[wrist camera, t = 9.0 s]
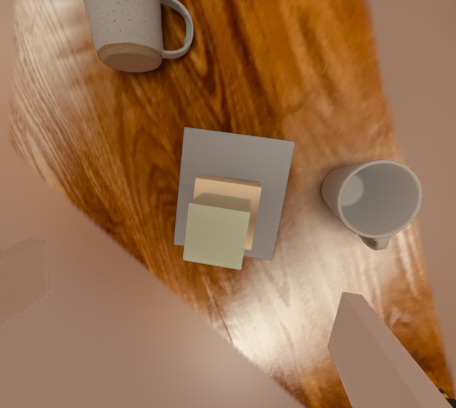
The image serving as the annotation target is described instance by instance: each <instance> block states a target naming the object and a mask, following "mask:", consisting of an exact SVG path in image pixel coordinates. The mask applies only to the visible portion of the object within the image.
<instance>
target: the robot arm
mask: <svg viewBox="0 0 456 408" xmlns="http://www.w3.org/2000/svg"><path fill="white" fill-rule="evenodd" d="M47 295H49V278H48V255H47V241H46V240H40V239H35V238H29V239H27V240H24V241H21V242H19V243H16V244H13V245H11V246H8V247H5V248H3V249H0V328H1V327H2V326H4V325H5V324H7V323H8V322H9V321H11V320H12V319H14V318H15V317H17V316H18V315H20V314H21V313H23V312H24V311H25V310H27V309H28V308H30V307H31V306H33V305H34V304H36V303H37V302H39V301H40V300H41V299H43V298H44V297H46V296H47ZM328 349H329V352H330V354H331V357H332V359H333V362H334V364H335V366H336V369H337V371H338V374H339V376H340V379H341V381H342V384H343V386H344V389H345V391H346V393H347V396H348V398H349V401H350V403H351V406H352V408H456V400H455V399H450V398H445V397H444V396H443V395H442V394H441V393H440V391H439V390H438V389H437V388H436V386H435V385H434V384H433V383H432V381H431V380H430V379H429V378H428V376H427V375H426V374H425V373H424V372H423V370H422V369H421V368H420V367H419V365H418V364H417V363H416V362H415V360H414V359H413V358H412V357H411V355H410V354H409V353H408V352H407V350H406V349H405V348H404V347H403V346H402V344H401V343H400V342H399V341H398V339H397V338H396V337H395V336H394V334H393V333H392V332H391V331H390V329H389V328H388V327H387V326H386V325H385V323H384V322H383V321H382V320H381V318H380V317H379V316H378V315H377V313H376V312H375V311H374V310H373V308H372V307H371V306H370V305H369V303H368V302H367V301H366V300H365V299H364V297H363V296H362V295H359V294H353V293H347V292H343V293H342V296H341V300H340V304H339V307H338V311H337V315H336V318H335V322H334V325H333V329H332V333H331V336H330V340H329V343H328Z"/></svg>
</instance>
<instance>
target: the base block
mask: <svg viewBox="0 0 456 408" xmlns="http://www.w3.org/2000/svg"><path fill="white" fill-rule="evenodd" d="M261 189H262V187H261V184H260V182H257V181H251V180H244V179H237V178H230V177H223V176H216V175H210V174H205V175H202V176H199V177H197V178H196V180H195V189H194V198H193V200H194V199H195V198H196V197H198V196H199V195H201V194H202V193H203V192H205V193H212V194H218V195H225V196H232V197H238V198H245V199H250V218H249V224H248V230H247V237H246V243H245V249H247V250H251V248H252V242H253V236H254V230H255V225H256V219H257V213H258V207H259V201H260V195H261Z"/></svg>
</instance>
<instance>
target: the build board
mask: <svg viewBox="0 0 456 408" xmlns="http://www.w3.org/2000/svg"><path fill="white" fill-rule="evenodd" d="M294 144H295V142H293V141H285V140H278V139H270V138H263V137H255V136H248V135H240V134H233V133H225V132H218V131H210V130H203V129H195V128H188V127H184V138H183V148H182V159H181V170H180V181H179V192H178V203H177V214H176V225H175V236H174V244H176V245H182V246H184V245H185V235H186V225H187V216H188V206H189V203H190V202H191V201H192V200H193V198H194V189H195V180H196V178H197V177H199V176H202V175H205V174H210V175H216V176H223V177H230V178H237V179H244V180H251V181H257V182H260V184H261V187H262V189H261V195H260V201H259V207H258V213H257V219H256V225H255V230H254V236H253V242H252V248H251V250H247V249H244V255H243V256H247V257H253V258H259V259H265V260H271V261H272V259H273V254H274V248H275V243H276V238H277V233H278V228H279V222H280V217H281V212H282V207H283V202H284V196H285V191H286V186H287V181H288V176H289V170H290V165H291V160H292V155H293V150H294Z"/></svg>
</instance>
